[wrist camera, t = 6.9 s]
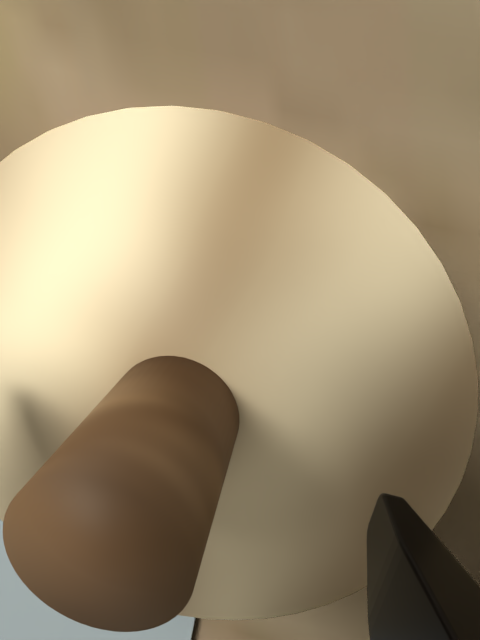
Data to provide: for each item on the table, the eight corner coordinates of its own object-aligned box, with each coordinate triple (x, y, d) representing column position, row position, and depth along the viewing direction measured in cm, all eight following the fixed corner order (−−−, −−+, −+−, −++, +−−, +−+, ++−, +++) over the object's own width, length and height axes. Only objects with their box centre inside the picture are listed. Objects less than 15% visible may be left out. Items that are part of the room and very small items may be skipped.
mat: (207, 557, 20) (204, 566, 19) (167, 762, 25) (164, 773, 25) (-118, 470, 21) (-127, 477, 21) (-87, 682, 27) (-94, 691, 26)
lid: (562, 175, 8) (881, 188, 4) (372, 635, 13) (406, 903, 8) (-66, 64, 9) (-436, -35, 5) (-36, 523, 14) (-210, 702, 9)
